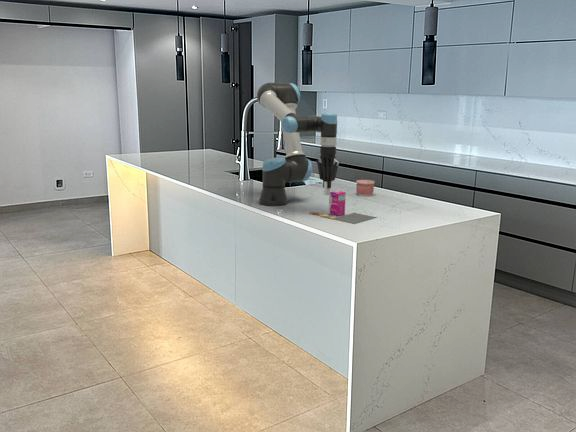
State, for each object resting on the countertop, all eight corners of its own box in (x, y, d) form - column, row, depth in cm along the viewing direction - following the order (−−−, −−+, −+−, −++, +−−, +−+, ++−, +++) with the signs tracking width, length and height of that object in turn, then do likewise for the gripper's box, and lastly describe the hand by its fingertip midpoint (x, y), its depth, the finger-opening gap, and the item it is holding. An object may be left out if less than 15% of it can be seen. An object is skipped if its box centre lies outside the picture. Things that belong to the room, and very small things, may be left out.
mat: (331, 219, 259) (331, 218, 258) (354, 213, 272) (354, 212, 272) (354, 224, 250) (354, 223, 250) (376, 218, 263) (376, 217, 263)
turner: (307, 214, 268) (307, 211, 268) (311, 213, 270) (311, 211, 270) (333, 219, 258) (333, 216, 258) (337, 218, 260) (337, 215, 260)
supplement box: (328, 215, 268) (328, 191, 265) (336, 213, 272) (336, 190, 269) (337, 217, 264) (338, 193, 261) (345, 215, 268) (346, 191, 265)
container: (363, 197, 312) (364, 183, 310) (351, 194, 321) (352, 180, 319) (377, 195, 318) (378, 181, 316) (365, 192, 326) (366, 179, 324)
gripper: (312, 145, 266) (311, 193, 271) (334, 147, 257) (332, 197, 263) (322, 144, 271) (321, 191, 277) (344, 146, 263) (342, 195, 268)
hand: (326, 194), depth 270 cm, fingers closed
